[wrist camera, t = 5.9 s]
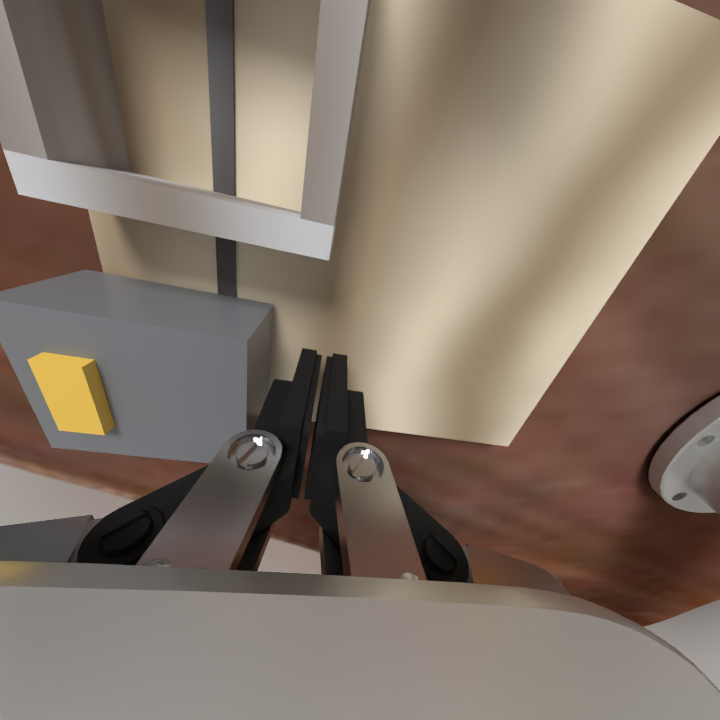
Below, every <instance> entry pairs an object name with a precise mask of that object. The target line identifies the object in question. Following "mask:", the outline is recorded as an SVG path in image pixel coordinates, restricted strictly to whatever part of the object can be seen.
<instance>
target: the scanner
mask: <svg viewBox="0 0 720 720" xmlns="http://www.w3.org/2000/svg"><path fill="white" fill-rule="evenodd" d="M273 307H274V304H269V303H264V302H259V301H253V300H248V299H243V298H237V297H232V296H226V295H221V294H216V293H210V292H205V291H199V290H194V289H189V288H183V287H178V286H172V285H167V284H162V283H156V282H151V281H145V280H140V279H135V278H129V277H124V276H119V275H113V274H108V273H102V272H97V271H92V270H82V271H78V272H74V273H70V274H66V275H62V276H59V277H55V278H51V279H47V280H43V281H39V282H35V283H31V284H27V285H24V286H20V287H16V288H12V289H8V290H4V291H0V342H1V344H2V347H3V349H4V351H5V353H6V355H7V357H8V359H9V361H10V363H11V365H12V367H13V369H14V371H15V373H16V375H17V377H18V379H19V381H20V383H21V386H22V388H23V390H24V392H25V394H26V396H27V398H28V400H29V402H30V404H31V406H32V408H33V410H34V412H35V414H36V416H37V418H38V420H39V423H40V425H41V427H42V429H43V431H44V433H45V435H46V437H47V439H48V441H49V443H50V445H51V447H53V448H63V449H73V450H83V451H93V452H103V453H113V454H123V455H133V456H143V457H153V458H163V459H173V460H183V461H193V462H203V463H211V461H212V460H213V459H214V457H215V456H216V455H217V453H218V452H219V450H220V449H221V448H222V446H223V445H224V444H225V443H226V442H227V441H228V440H229V439H230V438H231V437H233V436H234V435H236V434H238V433H240V432H244V431H247V430H253V428H254V426H255V424H256V421H257V419H258V416H259V414H260V412H261V409H262V407H263V404H264V402H265V400H266V397H267V395H268V390H269V374H270V357H271V340H272V323H273Z"/></svg>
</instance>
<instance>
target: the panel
mask: <svg viewBox="0 0 720 720" xmlns="http://www.w3.org/2000/svg"><path fill="white" fill-rule="evenodd" d="M719 135H720V20H719V19H716V18H714V17H712V16H709V15H707V14H705V13H702V12H700V11H698V10H695V9H693V8H691V7H688V6H686V5H684V4H681V3H679V2H677V1H675V0H0V142H1V145H2V148H3V151H4V154H5V157H6V159H7V162H8V165H9V168H10V171H11V174H12V177H13V180H14V183H15V185H16V188H17V191H18V194H20V195H24V196H29V197H34V198H38V199H43V200H48V201H52V202H57V203H62V204H66V205H71V206H76V207H80V208H85V209H88V212H89V216H90V220H91V224H92V228H93V232H94V236H95V240H96V244H97V248H98V252H99V257H100V261H101V265H102V269H103V273H108V274H113V275H119V276H124V277H129V278H135V279H140V280H145V281H151V282H156V283H162V284H167V285H172V286H178V287H183V288H189V289H194V290H199V291H205V292H210V293H216V294H221V295H226V296H232V297H237V298H243V299H248V300H253V301H259V302H264V303H269V304H274V307H273V323H272V340H271V357H270V374H269V390H270V387H271V385H272V383H273V381H274V379H280V380H286V381H292V380H293V377H294V374H295V371H296V367H297V364H298V361H299V358H300V354H301V351H302V348H306V349H312V350H317V354H318V355H322V360H321V366H320V372H319V378H318V384H317V390H316V396H315V402H314V408H313V414H312V420H311V421H313V422H315V421H316V415H317V409H318V403H319V397H320V392H321V386H322V380H323V375H324V369H325V363H326V358H327V356H331V357H332V355H333V353H336V354H341V355H347V390H353V391H360V392H363V395H364V407H365V419H366V428H368V429H376V430H384V431H391V432H399V433H407V434H415V435H423V436H431V437H438V438H446V439H454V440H462V441H470V442H478V443H485V444H493V445H501V446H509V444H510V443H511V441H512V440H513V438H514V437H515V435H516V434H517V432H518V431H519V429H520V428H521V427H522V425H523V424H524V422H525V421H526V419H527V418H528V416H529V415H530V413H531V412H532V410H533V409H534V407H535V406H536V404H537V403H538V402H539V400H540V399H541V397H542V396H543V394H544V393H545V391H546V390H547V388H548V387H549V385H550V384H551V382H552V381H553V379H554V378H555V376H556V375H557V374H558V372H559V371H560V369H561V368H562V366H563V365H564V363H565V362H566V360H567V359H568V357H569V356H570V354H571V353H572V351H573V350H574V349H575V347H576V346H577V344H578V343H579V341H580V340H581V338H582V337H583V335H584V334H585V332H586V331H587V329H588V328H589V326H590V325H591V324H592V322H593V321H594V319H595V318H596V316H597V315H598V313H599V312H600V310H601V309H602V307H603V306H604V304H605V303H606V301H607V300H608V299H609V297H610V296H611V294H612V293H613V291H614V290H615V288H616V287H617V285H618V284H619V282H620V281H621V279H622V278H623V276H624V275H625V273H626V272H627V271H628V269H629V268H630V266H631V265H632V263H633V262H634V260H635V259H636V257H637V256H638V254H639V253H640V251H641V250H642V248H643V247H644V246H645V244H646V243H647V241H648V240H649V238H650V237H651V235H652V234H653V232H654V231H655V229H656V228H657V226H658V225H659V223H660V222H661V221H662V219H663V218H664V216H665V215H666V213H667V212H668V210H669V209H670V207H671V206H672V204H673V203H674V201H675V200H676V198H677V197H678V196H679V194H680V193H681V191H682V190H683V188H684V187H685V185H686V184H687V182H688V181H689V179H690V178H691V176H692V175H693V173H694V172H695V171H696V169H697V168H698V166H699V165H700V163H701V162H702V160H703V159H704V157H705V156H706V154H707V153H708V151H709V150H710V148H711V147H712V145H713V144H714V143H715V141H716V140H717V138H718V137H719ZM269 390H268V392H269Z"/></svg>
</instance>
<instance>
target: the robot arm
mask: <svg viewBox="0 0 720 720" xmlns="http://www.w3.org/2000/svg"><path fill="white" fill-rule="evenodd" d="M321 360H322V355H318V354H317V350H312V349H306V348H302V351H301V354H300V358H299V361H298V364H297V367H296V371H295V374H294V377H293V380H292V381H286V380H280V379H274V381H273V383H272V385H271V387H270V390H269V392H268V395H267V397H266V400H265V402H264V404H263V407H262V409H261V412H260V414H259V416H258V419H257V421H256V424H255V426H254V428H253V430H247V431H244V432H240V433H238V434H236V435H234V436H233V437H231V438H230V439H229V440H228V441H227V442H226V443H225V444H224V445H223V446H222V448H221V449H220V450H219V452H218V453H217V455H216V456H215V457H214V459H213V460H212V461H211V463H210V464H209V465H207V466H205V467H203V468H201V469H199V470H197V471H195V472H193V473H191V474H189V475H187V476H185V477H183V478H181V479H179V480H177V481H174V482H172V483H170V484H168V485H166V486H164V487H162V488H160V489H158V490H156V491H154V492H152V493H150V494H148V495H146V496H144V497H142V498H139V499H137V500H135V501H133V502H131V503H129V504H127V505H125V506H123V507H121V508H119V509H117V510H115V511H114V512H112V513H110V514H109V515H107V516H106V517H104V518H100V519H94V518H93V516H92V515H86V516H79V517H70V518H63V519H54V520H46V521H38V522H30V523H22V524H14V525H6V526H0V720H720V690H719V689H718V688H717V687H716V686H715V685H714V684H713V683H712V682H711V680H710V679H709V678H708V677H707V676H706V675H705V674H703V672H702V671H701V670H700V669H698V667H697V666H696V665H695V664H694V663H693V662H691V661H690V660H689V659H688V658H686V656H684V655H683V654H682V653H681V652H680V651H678V650H677V649H676V648H675V647H673V646H672V645H670V644H669V643H667V642H666V641H664V640H663V639H661V638H660V637H658V636H657V635H655V634H654V633H652V632H651V631H649V630H647V629H646V628H644V627H642V626H641V625H639V624H637V623H635V622H633V621H631V620H629V619H627V618H625V617H623V616H621V615H619V614H617V613H615V612H613V611H611V610H609V609H607V608H604V607H602V606H600V605H597V604H595V603H592V602H589V601H587V600H584V599H581V598H578V597H574V596H570V595H569V594H568V592H567V591H566V589H565V588H564V587H563V586H562V585H561V583H560V582H559V581H558V580H557V579H556V578H555V577H554V576H553V575H552V574H550V573H549V572H548V571H547V570H545V569H543V568H541V567H539V566H537V565H534V564H531V563H528V562H525V561H522V560H519V559H516V558H513V557H510V556H507V555H504V554H501V553H498V552H495V551H492V550H489V549H486V548H483V547H480V546H476V545H473V544H470V543H467V544H466V546H463V545H460V544H459V542H458V541H457V540H456V539H455V538H454V537H453V536H452V535H451V534H450V533H449V532H448V531H447V530H446V529H445V528H443V527H442V526H441V525H440V524H439V523H438V522H437V521H436V520H435V519H433V518H432V517H431V516H430V515H429V514H428V513H427V512H426V511H424V510H423V509H422V508H421V507H420V506H419V505H418V504H417V503H416V502H414V501H413V500H412V499H411V498H410V497H409V496H408V495H407V494H406V493H404V492H403V491H402V490H401V489H400V488H399V487H398V486H397V485H396V484H395V481H394V478H393V475H392V472H391V469H390V465H389V463H388V461H387V459H386V457H385V455H384V454H383V453H382V452H381V451H380V450H379V449H377V448H376V447H374V446H372V445H370V444H368V442H367V431H366V419H365V407H364V395H363V392H360V391H353V390H347V355H341V354H336V353H333V355H332V357H331V356H327V358H326V363H325V369H324V375H323V380H322V386H321V392H320V397H319V403H318V409H317V415H316V421H315V428H314V435H313V442H312V448H311V455H310V462H309V469H308V476H307V483H306V490H305V496H304V499H310V500H311V502H310V510H309V511H311V515H312V516H313V517H314V518H315V520H316V521H317V522H318V523H319V525H320V528H319V539H320V556H321V573H322V575H317V574H298V573H279V572H259V571H257V570H258V568H259V565H260V562H261V559H262V557H263V554H264V552H265V549H266V546H267V544H268V541H269V539H270V536H271V533H272V531H273V527H274V523H275V521H277V520H278V519H279V518H281V517H282V516H283V515H285V514H286V513H287V512H288V510H289V509H290V504H291V499H292V498H299V492H300V486H301V480H302V474H303V468H304V462H305V456H306V450H307V444H308V438H309V432H310V426H311V420H312V414H313V408H314V402H315V396H316V390H317V384H318V378H319V372H320V366H321ZM649 482H650V485H651V487H652V489H653V490H654V491H655V492H656V493H657V494H658V495H659V496H660V497H661V498H663V499H664V500H665V501H666V502H667V503H668V504H670V505H671V506H673V507H674V508H677V509H681V510H684V511H688V512H698V513H715V512H717V513H718V514H719V515H720V395H719V396H717V397H716V398H714V399H712V400H711V401H709V402H708V403H706V404H705V405H704V406H702V407H701V408H699V409H698V410H697V411H695V412H694V413H693V414H691V415H690V416H689V417H688V418H686V419H685V420H684V421H683V422H682V423H681V424H680V425H679V426H678V427H676V428H675V429H674V430H673V431H672V432H671V433H670V435H669V436H668V437H667V438H666V439H665V440H664V441H663V443H662V444H661V445H660V447H659V448H658V450H657V451H656V453H655V455H654V456H653V458H652V461H651V464H650V467H649Z"/></svg>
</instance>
